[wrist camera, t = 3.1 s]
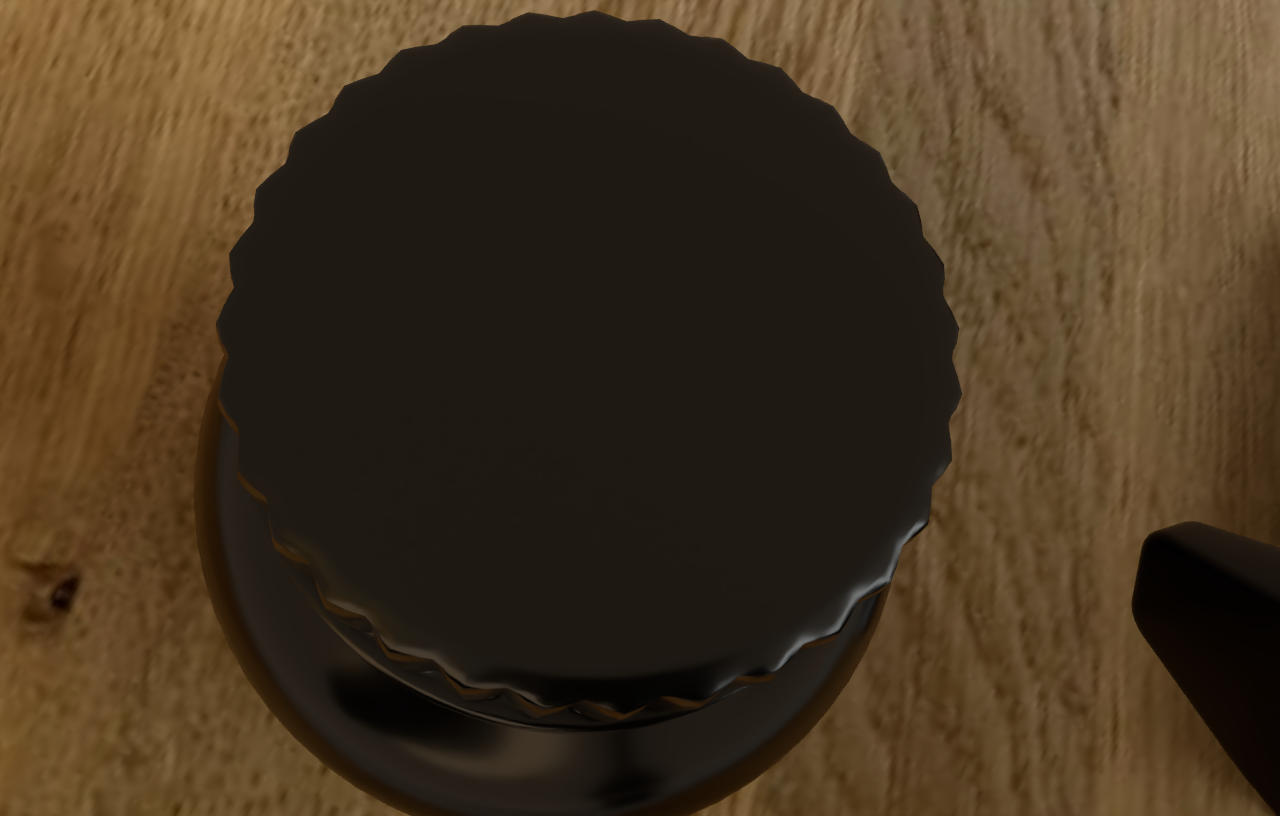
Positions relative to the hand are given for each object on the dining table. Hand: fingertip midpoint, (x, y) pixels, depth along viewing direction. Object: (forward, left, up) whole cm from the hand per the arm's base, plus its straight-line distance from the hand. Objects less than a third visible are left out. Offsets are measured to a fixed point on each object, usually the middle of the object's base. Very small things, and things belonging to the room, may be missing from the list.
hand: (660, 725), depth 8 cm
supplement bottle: (+1, +2, -10) cm, 10 cm away
